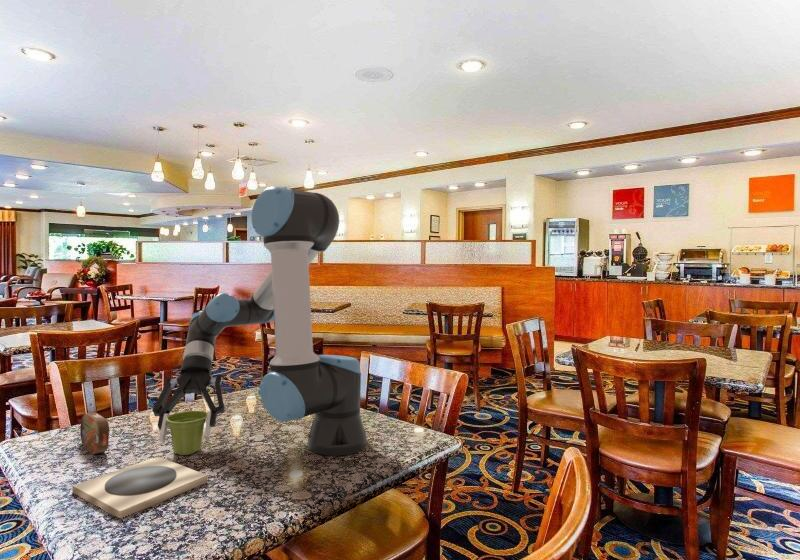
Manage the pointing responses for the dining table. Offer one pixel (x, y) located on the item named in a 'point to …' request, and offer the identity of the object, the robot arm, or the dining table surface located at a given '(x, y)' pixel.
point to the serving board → (138, 486)
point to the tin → (94, 433)
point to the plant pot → (186, 431)
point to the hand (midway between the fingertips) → (184, 439)
